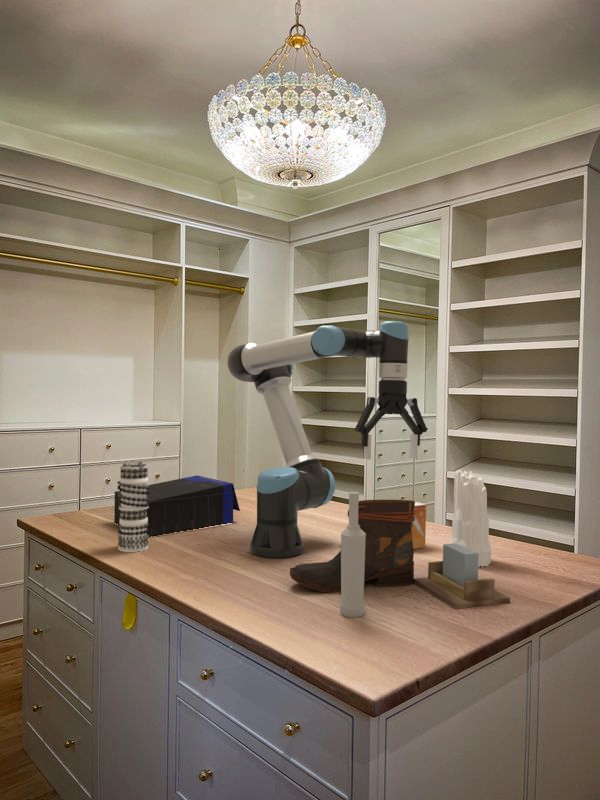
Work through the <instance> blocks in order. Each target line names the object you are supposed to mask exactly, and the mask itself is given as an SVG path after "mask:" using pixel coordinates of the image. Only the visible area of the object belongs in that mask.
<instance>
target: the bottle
mask: <svg viewBox="0 0 600 800" xmlns="http://www.w3.org/2000/svg"><path fill="white" fill-rule="evenodd" d="M359 496H360V492H357V491H349V492H348V502H349V503H348V510H349V517H348V524H347V525H346V527H345V529H343V530H342V531H341V532H340V546H341V547H340V550H341V592H340V595H341V597H340V598H341V599H340V602H339V612H340V614H341V615H342V616H345V617H348V618H359V617H362V616H364V614H365V607H366V606H365V602H364V593H365V582H364V569H365V540H366V533H365V532H364V531H363V530H361V529H360V526H359V525H358V502H359V501H360V497H359Z"/></svg>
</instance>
